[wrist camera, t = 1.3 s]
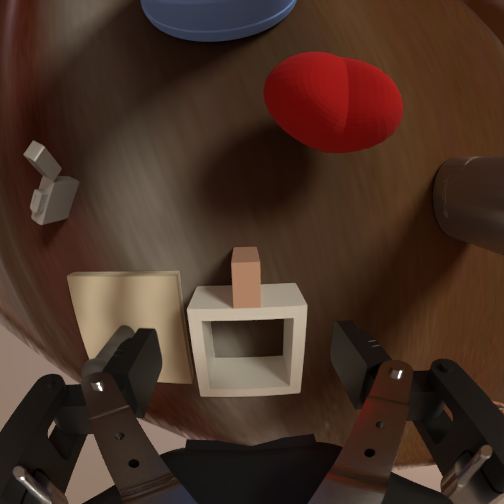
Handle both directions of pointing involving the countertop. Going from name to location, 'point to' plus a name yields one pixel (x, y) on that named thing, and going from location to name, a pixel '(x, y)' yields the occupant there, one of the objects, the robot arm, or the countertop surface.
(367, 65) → the red heart
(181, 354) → the beige peg base
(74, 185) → the lighter
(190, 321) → the white square frame
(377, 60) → the countertop surface
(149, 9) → the water jug
